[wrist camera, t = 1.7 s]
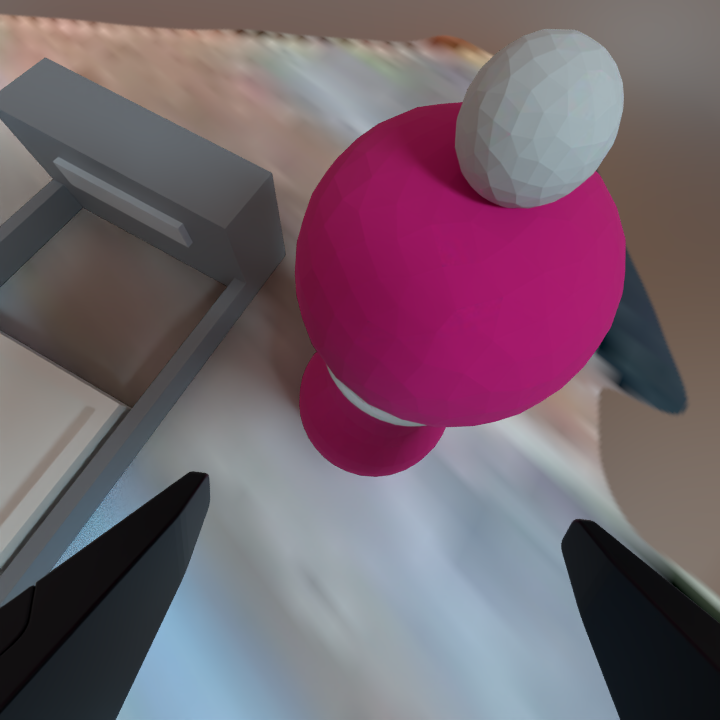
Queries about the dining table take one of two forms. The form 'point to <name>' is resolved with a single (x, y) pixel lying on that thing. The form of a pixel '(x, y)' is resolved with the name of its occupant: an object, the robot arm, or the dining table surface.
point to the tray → (44, 438)
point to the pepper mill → (462, 257)
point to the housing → (146, 221)
